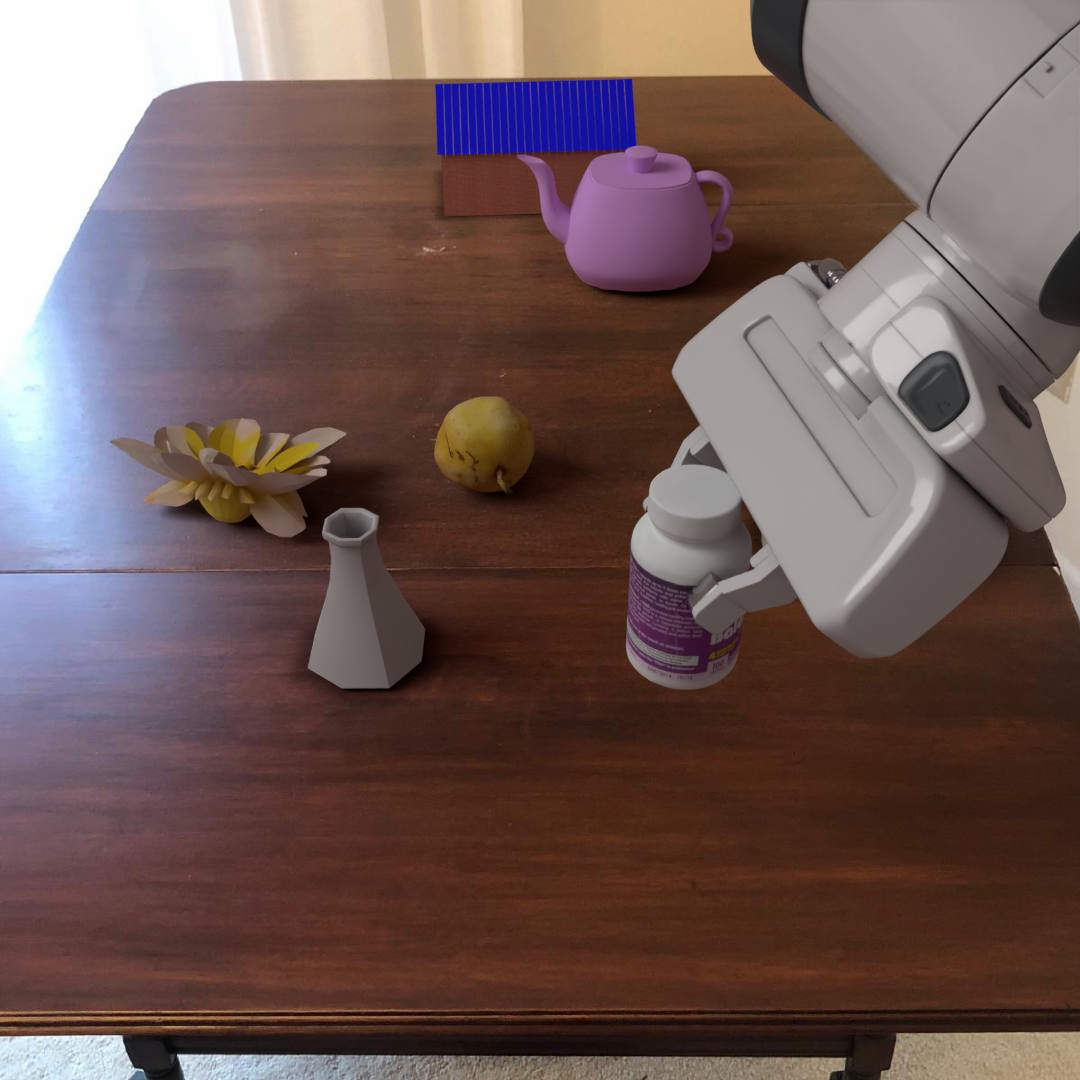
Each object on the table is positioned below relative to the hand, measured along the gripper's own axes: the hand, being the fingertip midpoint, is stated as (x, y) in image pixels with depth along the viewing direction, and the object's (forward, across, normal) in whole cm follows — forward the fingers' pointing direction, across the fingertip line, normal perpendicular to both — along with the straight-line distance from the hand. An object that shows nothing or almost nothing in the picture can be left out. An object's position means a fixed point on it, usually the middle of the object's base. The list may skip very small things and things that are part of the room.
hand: (676, 568), depth 54 cm
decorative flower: (+27, -33, -2) cm, 43 cm away
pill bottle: (+4, 0, +4) cm, 6 cm away
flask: (+22, -16, +3) cm, 28 cm away
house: (+5, -84, +20) cm, 86 cm away
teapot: (+2, -63, +23) cm, 67 cm away
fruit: (+15, -32, +10) cm, 37 cm away
